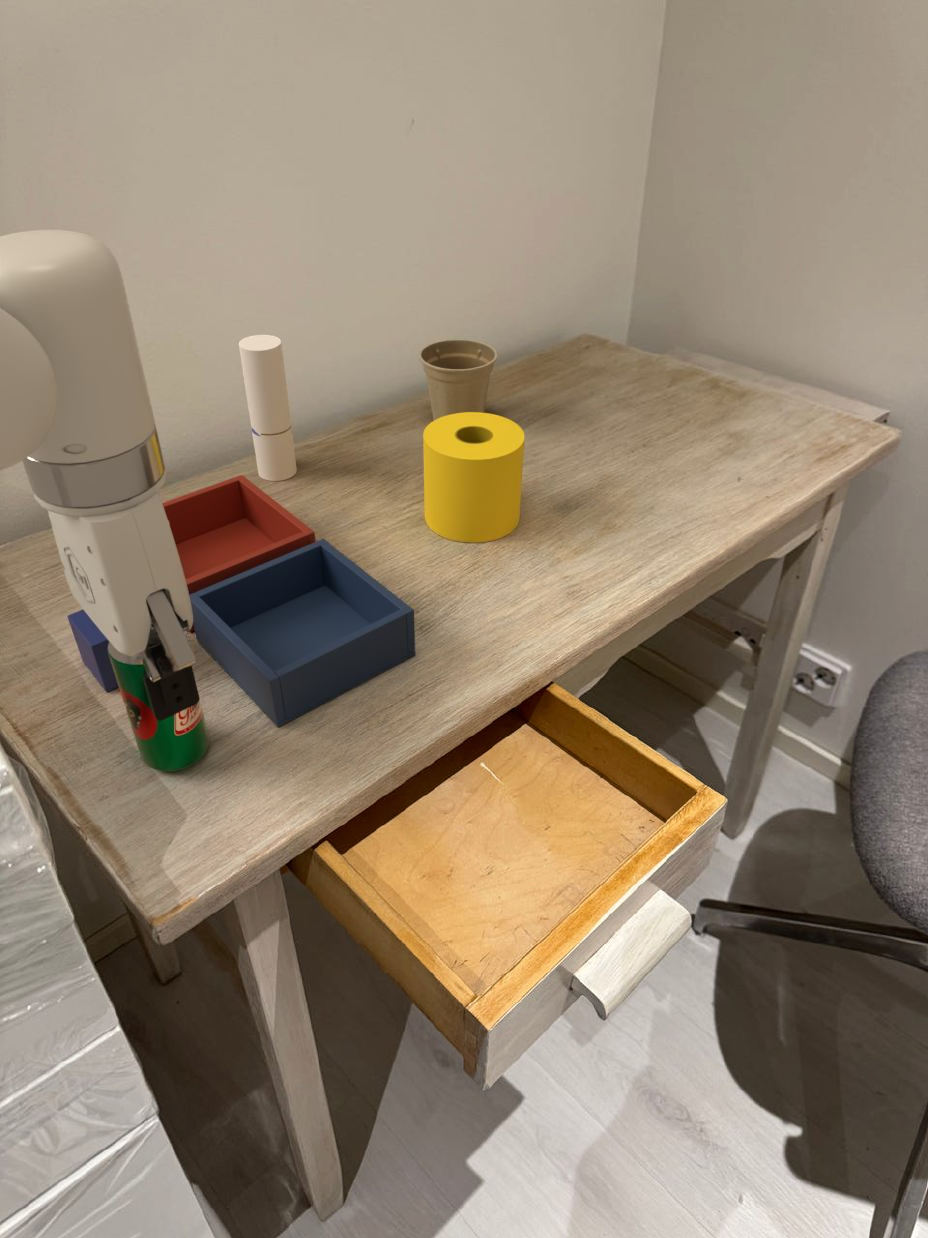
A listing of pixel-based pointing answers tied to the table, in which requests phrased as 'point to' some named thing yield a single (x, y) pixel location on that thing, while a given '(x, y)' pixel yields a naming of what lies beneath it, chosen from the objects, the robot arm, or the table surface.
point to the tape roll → (472, 476)
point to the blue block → (93, 649)
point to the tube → (268, 406)
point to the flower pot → (457, 375)
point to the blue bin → (302, 629)
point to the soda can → (157, 741)
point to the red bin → (230, 531)
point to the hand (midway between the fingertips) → (158, 685)
